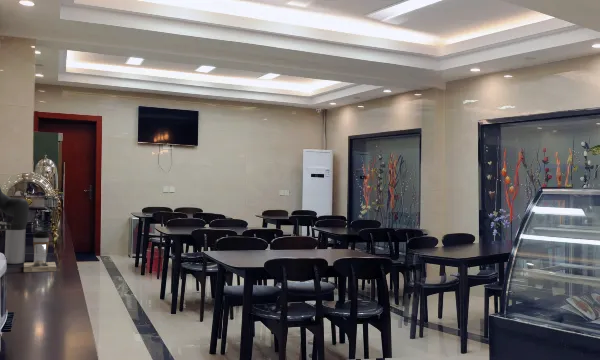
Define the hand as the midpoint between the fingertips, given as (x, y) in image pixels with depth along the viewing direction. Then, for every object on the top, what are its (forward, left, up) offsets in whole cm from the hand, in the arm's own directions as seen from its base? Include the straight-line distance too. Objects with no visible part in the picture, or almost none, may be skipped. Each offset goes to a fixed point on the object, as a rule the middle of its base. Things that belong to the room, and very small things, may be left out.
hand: (17, 225), depth 270 cm
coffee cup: (-39, -6, -22) cm, 45 cm away
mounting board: (-9, +8, -22) cm, 25 cm away
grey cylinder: (-7, +8, -22) cm, 24 cm away
